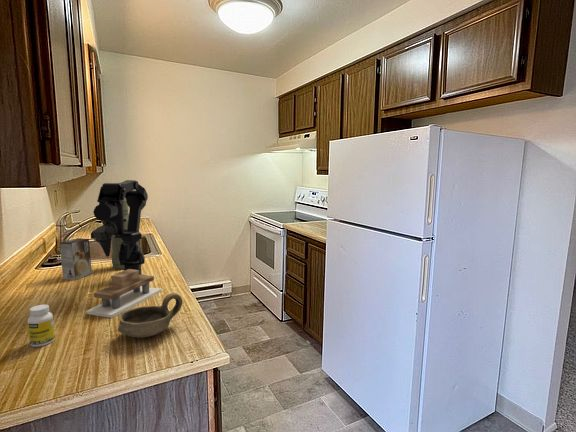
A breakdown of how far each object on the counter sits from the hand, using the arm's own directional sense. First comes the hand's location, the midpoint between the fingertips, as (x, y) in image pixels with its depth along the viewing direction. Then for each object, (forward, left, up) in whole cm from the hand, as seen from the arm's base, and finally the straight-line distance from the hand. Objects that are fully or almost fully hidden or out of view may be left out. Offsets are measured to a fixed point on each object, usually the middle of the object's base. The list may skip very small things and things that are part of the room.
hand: (117, 257), depth 123 cm
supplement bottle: (+37, +10, -13) cm, 41 cm away
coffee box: (-8, -30, -13) cm, 34 cm away
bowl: (+23, +34, -13) cm, 43 cm away
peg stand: (+8, +11, -13) cm, 19 cm away
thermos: (-25, -22, -13) cm, 36 cm away
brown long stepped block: (+8, +11, -8) cm, 16 cm away
